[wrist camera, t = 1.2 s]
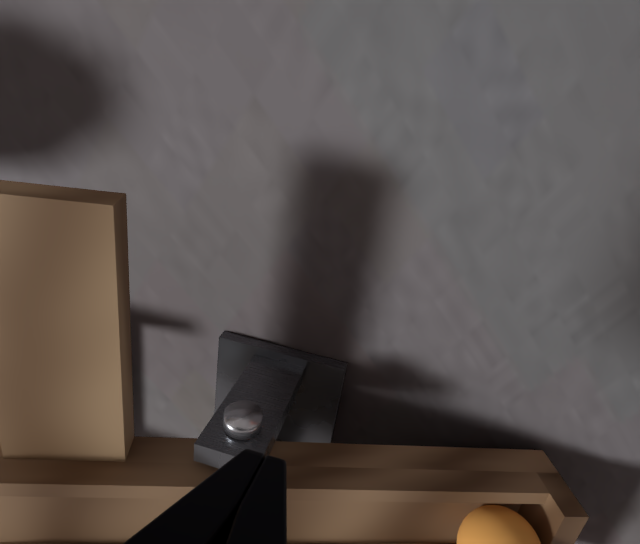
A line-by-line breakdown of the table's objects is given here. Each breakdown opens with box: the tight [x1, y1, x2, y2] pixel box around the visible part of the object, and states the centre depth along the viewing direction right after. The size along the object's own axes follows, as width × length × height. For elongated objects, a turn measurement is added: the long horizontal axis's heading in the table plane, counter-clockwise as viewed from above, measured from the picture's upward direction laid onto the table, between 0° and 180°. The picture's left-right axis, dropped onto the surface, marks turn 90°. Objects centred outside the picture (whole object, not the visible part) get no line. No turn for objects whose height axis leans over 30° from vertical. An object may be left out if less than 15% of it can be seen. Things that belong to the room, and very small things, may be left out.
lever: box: [0, 180, 589, 544], centre depth 16 cm, size 22×14×3 cm, turn 82°
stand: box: [193, 331, 347, 469], centre depth 20 cm, size 6×9×6 cm
